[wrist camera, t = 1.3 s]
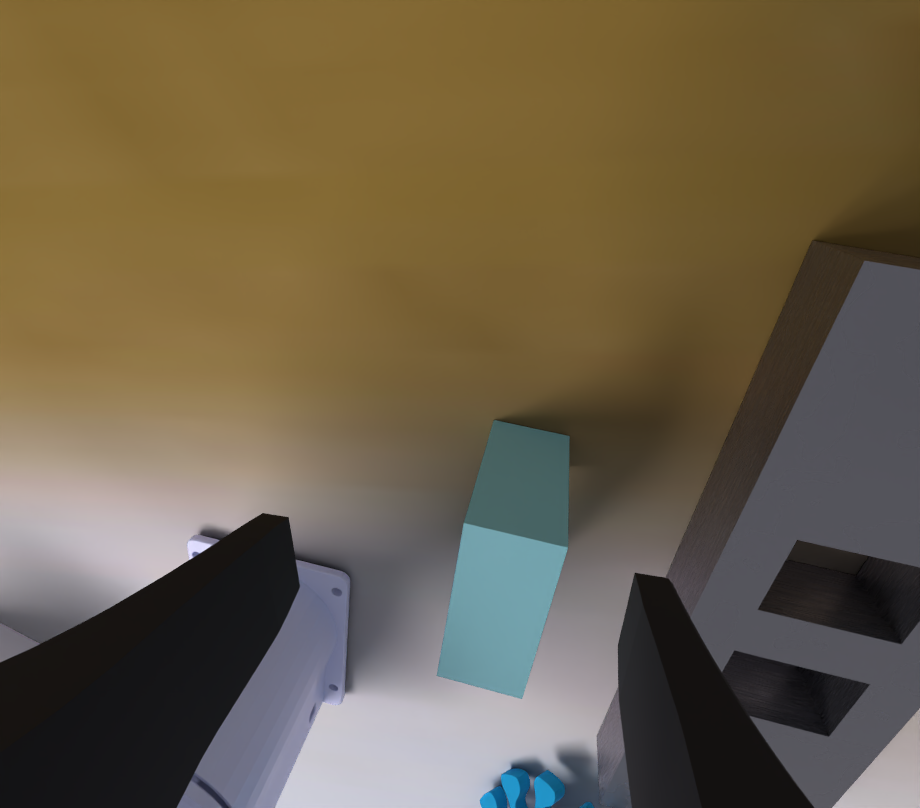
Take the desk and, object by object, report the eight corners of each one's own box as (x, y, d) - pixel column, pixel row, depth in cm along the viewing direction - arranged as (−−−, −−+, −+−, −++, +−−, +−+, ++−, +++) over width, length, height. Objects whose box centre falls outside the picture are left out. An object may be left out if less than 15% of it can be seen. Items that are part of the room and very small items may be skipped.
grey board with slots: (764, 782, 25) (787, 857, 22) (596, 736, 26) (599, 803, 23) (1127, 291, 14) (1256, 326, 11) (812, 240, 15) (864, 260, 12)
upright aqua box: (534, 565, 22) (521, 698, 17) (469, 549, 22) (436, 675, 17) (569, 436, 19) (567, 547, 14) (494, 419, 19) (463, 522, 14)
